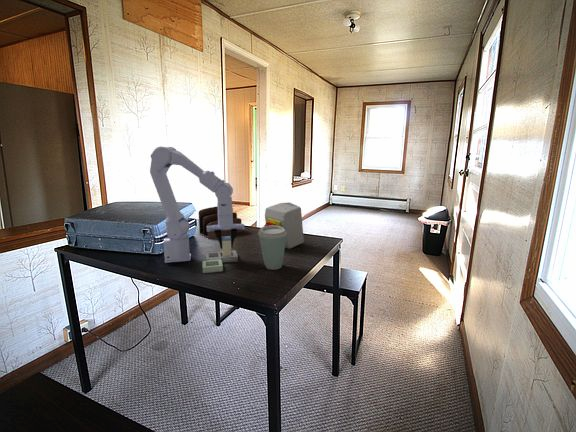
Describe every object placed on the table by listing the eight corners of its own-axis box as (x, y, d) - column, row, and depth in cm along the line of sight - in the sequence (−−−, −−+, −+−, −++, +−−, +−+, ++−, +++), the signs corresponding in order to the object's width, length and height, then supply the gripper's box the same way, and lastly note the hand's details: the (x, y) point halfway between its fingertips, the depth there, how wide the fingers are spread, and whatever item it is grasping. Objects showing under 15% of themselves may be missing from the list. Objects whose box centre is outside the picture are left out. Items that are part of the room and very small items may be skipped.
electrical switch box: (260, 248, 140) (254, 208, 134) (284, 238, 149) (279, 200, 143) (280, 256, 130) (275, 213, 124) (304, 245, 139) (300, 204, 133)
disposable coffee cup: (292, 268, 111) (292, 229, 108) (265, 274, 106) (265, 233, 102) (278, 259, 120) (278, 223, 117) (254, 264, 115) (253, 226, 111)
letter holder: (199, 235, 154) (197, 208, 152) (232, 228, 167) (231, 204, 164) (208, 239, 147) (206, 211, 144) (242, 232, 160) (241, 206, 157)
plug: (222, 256, 118) (222, 239, 116) (222, 253, 121) (221, 236, 119) (231, 255, 118) (231, 238, 117) (230, 252, 122) (230, 236, 120)
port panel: (206, 264, 114) (206, 258, 114) (206, 257, 122) (205, 251, 121) (237, 261, 118) (237, 255, 117) (235, 254, 125) (235, 249, 125)
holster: (202, 273, 106) (202, 267, 106) (202, 265, 113) (202, 261, 112) (222, 271, 108) (222, 265, 108) (221, 264, 115) (221, 259, 114)
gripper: (206, 217, 111) (208, 252, 114) (245, 215, 115) (245, 249, 118) (205, 213, 117) (207, 246, 120) (242, 212, 121) (243, 243, 124)
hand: (226, 247), depth 119 cm, fingers closed on plug, 3 cm apart
